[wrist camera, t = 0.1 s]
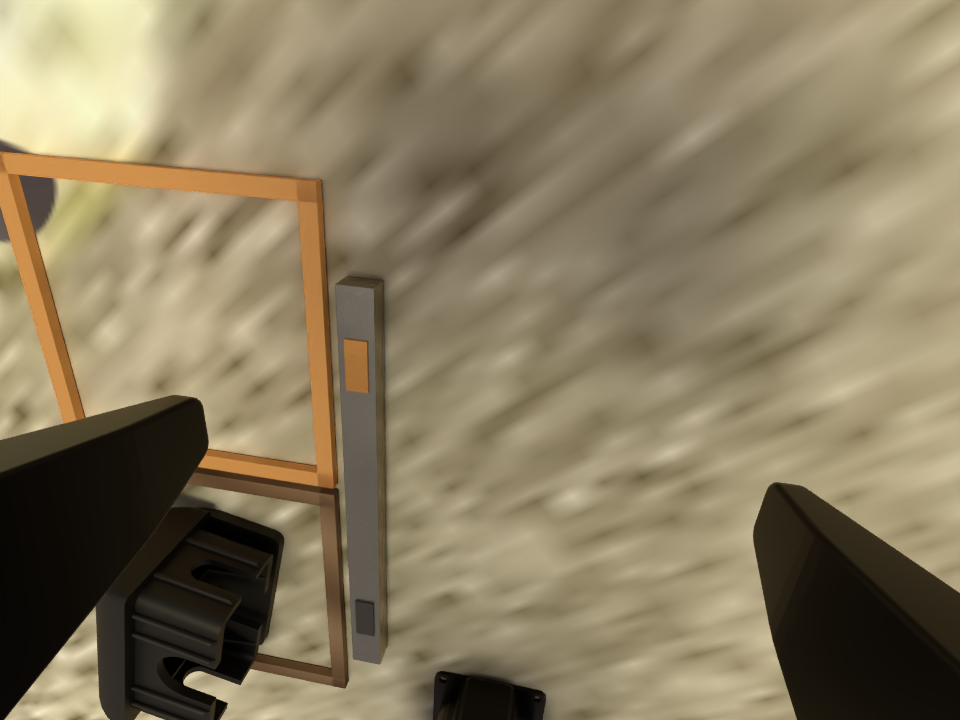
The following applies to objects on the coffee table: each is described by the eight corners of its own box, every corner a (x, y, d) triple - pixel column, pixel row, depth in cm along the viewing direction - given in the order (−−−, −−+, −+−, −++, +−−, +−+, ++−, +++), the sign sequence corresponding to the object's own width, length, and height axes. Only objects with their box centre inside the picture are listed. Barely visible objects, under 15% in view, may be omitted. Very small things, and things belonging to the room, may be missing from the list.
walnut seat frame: (348, 681, 34) (345, 688, 33) (133, 636, 36) (128, 643, 35) (338, 489, 28) (333, 495, 27) (80, 447, 30) (72, 452, 29)
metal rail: (387, 646, 32) (379, 666, 31) (360, 640, 32) (352, 660, 31) (383, 280, 23) (372, 289, 22) (346, 276, 23) (334, 285, 22)
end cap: (165, 482, 30) (58, 577, 24) (287, 526, 30) (211, 632, 24) (160, 605, 34) (69, 711, 28) (267, 643, 34) (198, 759, 28)
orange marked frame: (337, 482, 28) (333, 489, 27) (78, 441, 29) (70, 446, 29) (321, 180, 22) (315, 181, 21) (-4, 151, 23) (-16, 151, 23)
